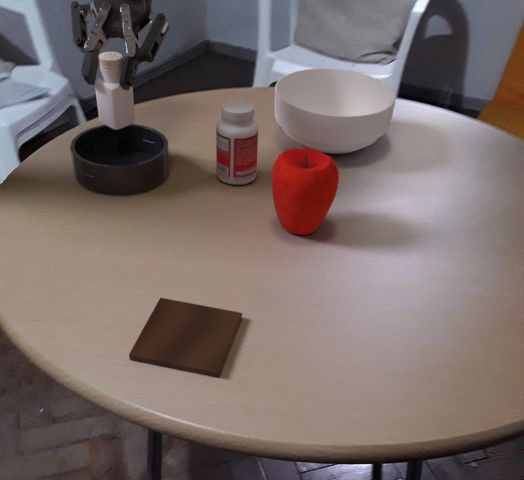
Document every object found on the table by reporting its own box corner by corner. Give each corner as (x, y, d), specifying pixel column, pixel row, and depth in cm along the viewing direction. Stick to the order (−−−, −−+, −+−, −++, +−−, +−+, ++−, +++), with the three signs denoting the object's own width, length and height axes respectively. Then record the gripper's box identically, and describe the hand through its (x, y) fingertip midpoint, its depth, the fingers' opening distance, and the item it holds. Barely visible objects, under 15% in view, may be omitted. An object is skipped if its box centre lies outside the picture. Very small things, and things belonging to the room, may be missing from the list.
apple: (333, 214, 91) (344, 143, 83) (328, 248, 84) (338, 175, 77) (273, 206, 91) (278, 135, 84) (263, 239, 85) (267, 166, 78)
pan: (58, 186, 92) (53, 158, 89) (98, 144, 102) (94, 117, 99) (150, 202, 91) (148, 173, 88) (181, 157, 101) (180, 130, 98)
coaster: (129, 359, 68) (128, 354, 67) (160, 302, 75) (160, 297, 74) (218, 377, 66) (218, 372, 66) (242, 317, 73) (242, 312, 73)
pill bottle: (260, 170, 99) (264, 100, 91) (250, 189, 95) (253, 117, 87) (222, 164, 100) (223, 94, 92) (211, 182, 96) (210, 111, 88)
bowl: (252, 125, 110) (254, 76, 105) (346, 109, 117) (353, 62, 112) (308, 177, 98) (313, 125, 92) (409, 155, 105) (420, 105, 99)
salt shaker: (115, 132, 89) (108, 63, 83) (97, 122, 91) (89, 54, 84) (137, 123, 92) (132, 56, 85) (119, 114, 93) (112, 47, 87)
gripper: (70, -62, 83) (44, 64, 83) (174, -49, 81) (148, 79, 81) (92, -27, 90) (68, 89, 90) (187, -14, 89) (163, 104, 89)
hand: (106, 84), depth 86 cm, fingers closed on salt shaker, 4 cm apart
